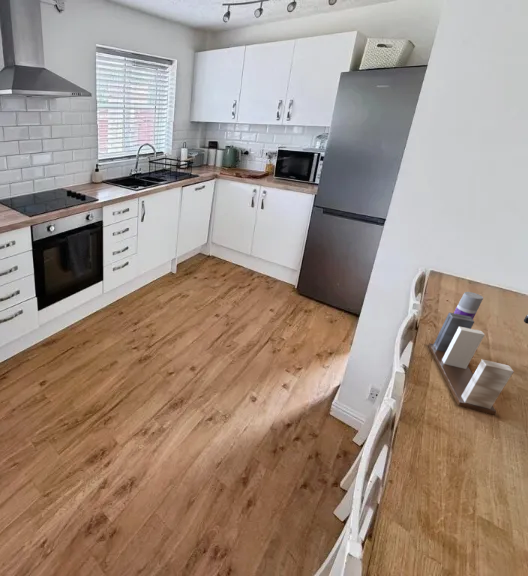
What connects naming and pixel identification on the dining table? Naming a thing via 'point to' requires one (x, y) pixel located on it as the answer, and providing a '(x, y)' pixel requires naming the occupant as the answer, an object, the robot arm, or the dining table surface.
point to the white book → (463, 347)
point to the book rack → (469, 371)
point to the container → (469, 304)
